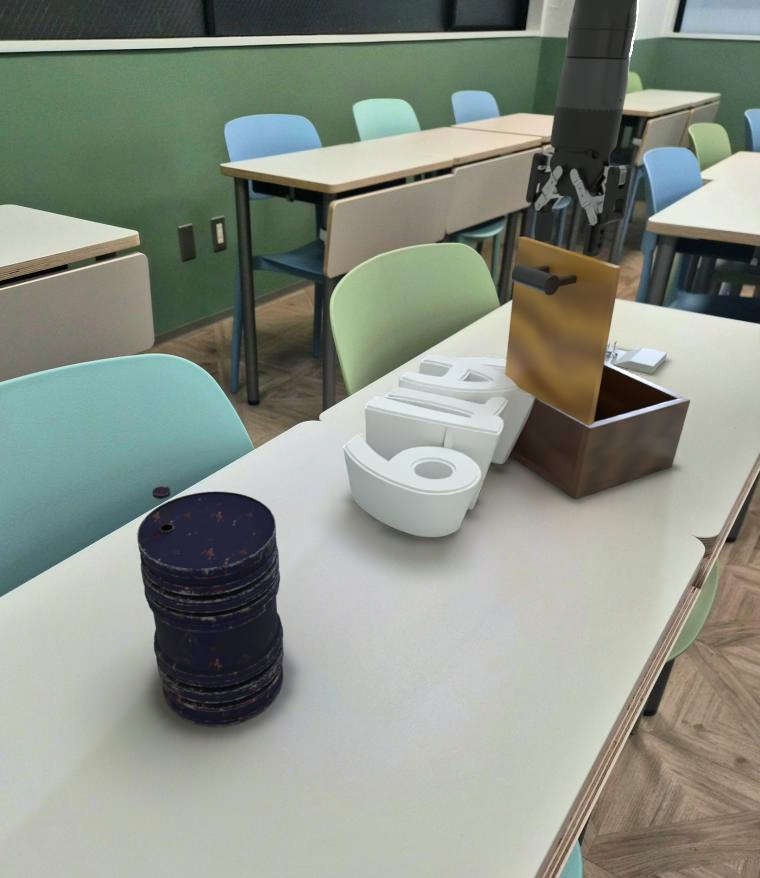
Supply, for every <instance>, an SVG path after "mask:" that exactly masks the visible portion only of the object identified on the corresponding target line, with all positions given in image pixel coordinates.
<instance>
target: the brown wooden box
mask: <svg viewBox="0 0 760 878" xmlns="http://www.w3.org/2000/svg"><path fill="white" fill-rule="evenodd" d="M690 404H691V399H689V398H686V397H685V396H683V395H680V394H678V393H676V392H673V391H671V390H669V389H668V388H667V389H666V388H665V387H662V386H660V385H658V384H655V383H654V382H652V381H650V380H647V379H644V378H642V377H640V376H638V375H636V374H633V373H631V372H629V371H627V370H625V369H623V368H621V367H619V366H616V365H611V364H609V363H607V362H605V361H604V366H603V372H602V378H601V383H600V389H599V395H598V400H597V406H596V412H595V417H594V423H593V424H592V425H589V426H588V425H586V424H584V423H582V422H580V421H579V420H577V419H575V418H573V417H571V416H569V415H568V414H566V413H564V412H562V411H560V410H559V409H557V408H555V407H553V406H551V405H549V404H548V403H546V402H544V401H542V400H540V399H539V398H535V400H534V404H533V406H532V409H531V412H530V415H529V417H528V419H527V422H526V424H525V426H524V428H523V429H522V431H521V433H520V435H519V437H518V439H517V441H516V443H515V445H514V447H513V449H512V451H511V453H510V455H509V457H512V458H513V459H514V460H516V461H518V462H519V463H521V465H523V466H525V467H527V468H528V469H530V470H531V471H533V472H534V473H536V474H537V475H539V476H540V477H542V478H543V479H545V480H546V481H548V482H550V483H551V484H552V485H554V486H555V487H557V488H559V489H560V490H562V491H563V492H564V493H566V494H568V495H569V496H570V497H572V498H574V499H575V500H576V499H577V500H578V499H580V498H583V497H585V496H588V495H592V494H594V493H595V494H596V493H598V492H600V491H604V490H607V489H610V488H612V487H616V486H618V485H621V484H624V483H627V482H630V481H633V480H636V479H639V478H642V477H645V476H648V475H651V474H654V473H658V472H660V471H663V470H666V469H668V468H672V467H673V464H674V461H675V459H676V458H675V457H676V453H677V451H678V447H679V443H680V439H681V436H682V432H683V429H684V425H685V422H686V418H687V414H688V411H689V407H690Z"/></svg>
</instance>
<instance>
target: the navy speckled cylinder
mask: <svg viewBox="0 0 760 878" xmlns="http://www.w3.org/2000/svg"><path fill="white" fill-rule="evenodd" d="M151 494H152V497H153V498H154V499H156V500H164V499H167V498H169V497H170V496H171V494H172V492H171V488H170V487H169V486H165V485H161V486H160V485H159V486H157V487H155V488H153V489H152V491H151ZM276 524H277V523H276V519H275V516H274V514H273V512H272V511H271V510H270V508H269V507H268V506H267V505H266V504H264V503H263V502H262V501H260V500H258V499H256V498H254V497H251V496H248V495H246V494H241V493H237V492H232V491H219V490H218V491H216V490H215V491H202V492H194V493H190V494H186V495H182V496H179V497H176V498H174V499H170V500H168V501H167V502H164V503H162V504H161V505H159V506H158V507H156V508H154V509H153V510H151V512H149V513H148V514H147V515H146V516H145V517H144V518H143V520H142V521H141V523H140V525H139V526H138V528H137V533H136V540H137V546H138V551H139V556H140V558H139V559H140V573H141V579H142V584H143V588H144V589H143V590H144V591H143V592H144V597H145V601H146V602H147V604H148V607H149V609H150V610H151V612H152V614H153V620H154V626H155V629H154V634H153V651H154V654H155V660H156V667H157V671H158V675H159V677H160V679H161V683H162V691H163V696H164V699H165V702H166V704H167V705H168V707H169V708H170V709H171V710H172V712H173V713H174V714H176V715H177V716H178V717H179V718H181V719H182V720H184V721H186V722H189V723H191V724H194V725H197V726H202V727H203V726H204V727H213V728H214V727H216V728H217V727H218V728H219V727H227V726H232V725H237V724H240V723H243V722H246V721H248V720H251V719H253V718H255V717H256V716H258V715H260V714H261V713H263V712H264V711H265V710H267V709H268V708H269V707H270V706H271V705H272V703H273V702H274V701H275V700H276V699H277V697H278V695H279V694H280V692H281V688H282V687H283V682H284V666H283V661H284V628H283V623H282V620H281V616H280V615H279V612H278V605H277V603H278V602H277V595H278V594H279V589H280V582H281V572H280V554H279V548H278V544H277V526H276Z"/></svg>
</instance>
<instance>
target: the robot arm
mask: <svg viewBox="0 0 760 878" xmlns="http://www.w3.org/2000/svg"><path fill="white" fill-rule="evenodd" d="M638 12H639V0H574V4H573V7H572V12H571V16H570V20H569V26H568V33H567V39H566V46H565V54H564V59H563V65H562V67H561V71H560V75H559V80H558V87H557V92H556V100H555V106H554V112H553V120H552V127H551V133H550V141H549V145H550V146H551V147H552V148H553V149H554V150H553V151H541V152H540V151H539V152H535V153H534V154H533V155H532V161H531V165H530V172H529V178H528V183H527V188H526V195H525V201H526V203H528V204H532V205H533V206H534V209H535V211H536V215H535V222H534V223H535V224H534V230H533V234H534V240H537V241H540V242H544V243H547V242H549V241H550V240H551V239H552V236H553V235H552V234H553V228H554V221H555V216H556V215H555V214H556V210H553V209H555V207H556V206H557V205H558V204H559V202H560V201H561V200H562V199H563V198H565V197H569V198H570V199H573V200H577V201H579V204H580V206H581V208H583V210H584V211H585V212H586V216H587V219H588V222H589V223H588V224H586V225H587V226H586V231H585V237H584V242H583V243H584V244H583V248H582V255H585V256H589V257H592V258H594V257H597V256H599V255H600V253H601V252H602V251H603V250H604V249H603V248H604V244H605V239H606V234H607V229H608V226H609V225H610V223H614V222H620V221H623V219H624V218H625V214H626V208H627V201H628V194H629V190H630V189H629V187H630V181H631V175H632V167H631V165H630V164H625V165H624V164H623V165H611V160H610V159H611V157H610V156H611V154H612V152H613V150H614V149H615V148H616V147H617V144H618V137H619V134H620V127H621V123H622V117H623V111H624V107H625V106H624V105H625V102H626V101H625V100H626V96H627V90H628V84H629V75H630V73H629V72H630V62H631V59H630V58H631V55H632V51H633V44H634V40H635V34H636V28H637V21H638V14H639V13H638ZM538 185H539V186H538ZM537 189H538V191H537ZM594 195H595V196H594Z"/></svg>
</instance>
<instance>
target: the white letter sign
mask: <svg viewBox="0 0 760 878" xmlns="http://www.w3.org/2000/svg"><path fill="white" fill-rule="evenodd" d="M505 368H506V358H501V357H500V358H498V357H478V356H476V357H475V356H471V357H470V356H468V357H466V356H464V357H454V356H453V357H452V356H448V355H442V354H436V353H429V354H427V355H425V356H424V357H423V358H422V359H421V360H420V365H419V370H418V372H414V371H410V370H408V371H406V372H405V373H403V374H402V375H400V377H399V378H398V385H397V386H396V387H394V388H393V389H391V390H390V391H389V392H387V393H386V395H384V397H383V396H380V395H376V396H374V397H373V398H371V399H369V400H368V402H367V403H366V404H365V406H364V415H365V439H364V437H363V436H362V434H361V432H358V433H357V434H356V435H354V436H353V437H352V438H350V439H349V440H348V441H347V442H346V443H345V444H344V445H343V447H342V448H343V455H344V459H345V465H346V470H347V475H348V482H349V487H350V492H351V497H352V498H353V500H354V501H355V503H356V504H357V506H359V507H360V508H361V509H362V510H363V511H364V512H366V513H367V514H368V515H370V517H372V518H374V519H375V520H377V521H379V522H381V523H382V524H384V525H387V526H389V527H391V528H394V529H395V530H398V531H401V532H403V533H406V534H409V535H413V536H417V537H423V538H439V537H445V536H449V535H451V534H453V533H455V532H457V531H458V530H459V529H460V527H461V525H462V523H463V521H464V518H465V516H466V514H467V512H468V510H473V509H474V508H475V507H476V503H477V501H478V498H479V495H480V492H481V489H482V487H483V485H484V482H485V479H486V477H487V473H488V471H489V468H490V465H491V463H493V464H498V465H503V464H505V463H506V462H507V461H508V458H509V457H510V453H511V451H512V449H513V447H514V445H515V443H516V441H517V439H518V437H519V435H520V433H521V431H522V429H523V428H524V426H525V424H526V422H527V419H528V417H529V415H530V412H531V409H532V406H533V404H534V400H535V398H537V397H535V396H533V395H531V394H529V393H528V392H526V391H524V390H522V389H520V388H518V386H517V385H516V384H515V383H514V382H513V381H512V380H511V379H510V378H509V377H507V376H506V375H505Z"/></svg>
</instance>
